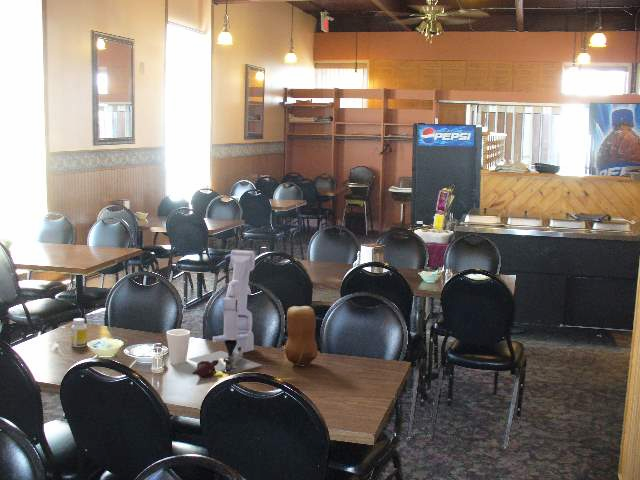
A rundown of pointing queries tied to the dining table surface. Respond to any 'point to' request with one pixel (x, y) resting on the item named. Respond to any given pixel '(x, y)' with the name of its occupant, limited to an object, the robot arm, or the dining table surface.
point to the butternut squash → (301, 335)
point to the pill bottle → (79, 333)
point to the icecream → (205, 368)
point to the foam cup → (178, 345)
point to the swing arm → (234, 357)
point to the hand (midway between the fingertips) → (230, 357)
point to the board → (240, 366)
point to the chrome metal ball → (228, 368)
